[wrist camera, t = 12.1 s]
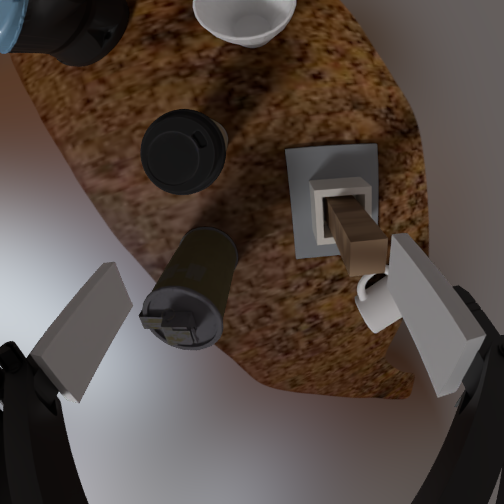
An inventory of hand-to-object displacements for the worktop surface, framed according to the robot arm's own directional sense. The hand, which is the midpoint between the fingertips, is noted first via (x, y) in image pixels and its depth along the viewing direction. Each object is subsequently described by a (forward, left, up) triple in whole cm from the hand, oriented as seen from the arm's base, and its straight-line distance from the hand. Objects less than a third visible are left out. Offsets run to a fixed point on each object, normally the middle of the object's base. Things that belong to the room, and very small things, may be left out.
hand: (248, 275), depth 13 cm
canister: (+15, -12, -32) cm, 37 cm away
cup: (-20, +1, -32) cm, 38 cm away
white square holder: (+8, +10, -31) cm, 33 cm away
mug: (+24, +18, -32) cm, 44 cm away
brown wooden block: (+8, +10, -30) cm, 32 cm away
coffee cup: (-4, -8, -32) cm, 33 cm away
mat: (+8, +10, -32) cm, 34 cm away
